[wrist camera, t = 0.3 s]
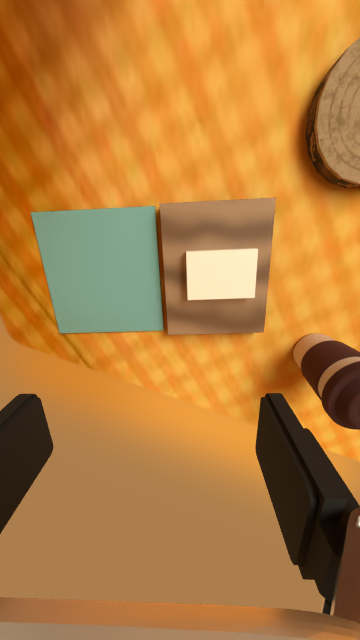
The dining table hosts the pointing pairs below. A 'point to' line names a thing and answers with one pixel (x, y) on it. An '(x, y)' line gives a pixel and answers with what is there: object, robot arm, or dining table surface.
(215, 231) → the panel
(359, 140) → the wood slice coaster
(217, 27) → the dining table surface
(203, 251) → the cream foam board
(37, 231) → the mat
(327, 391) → the coffee cup
